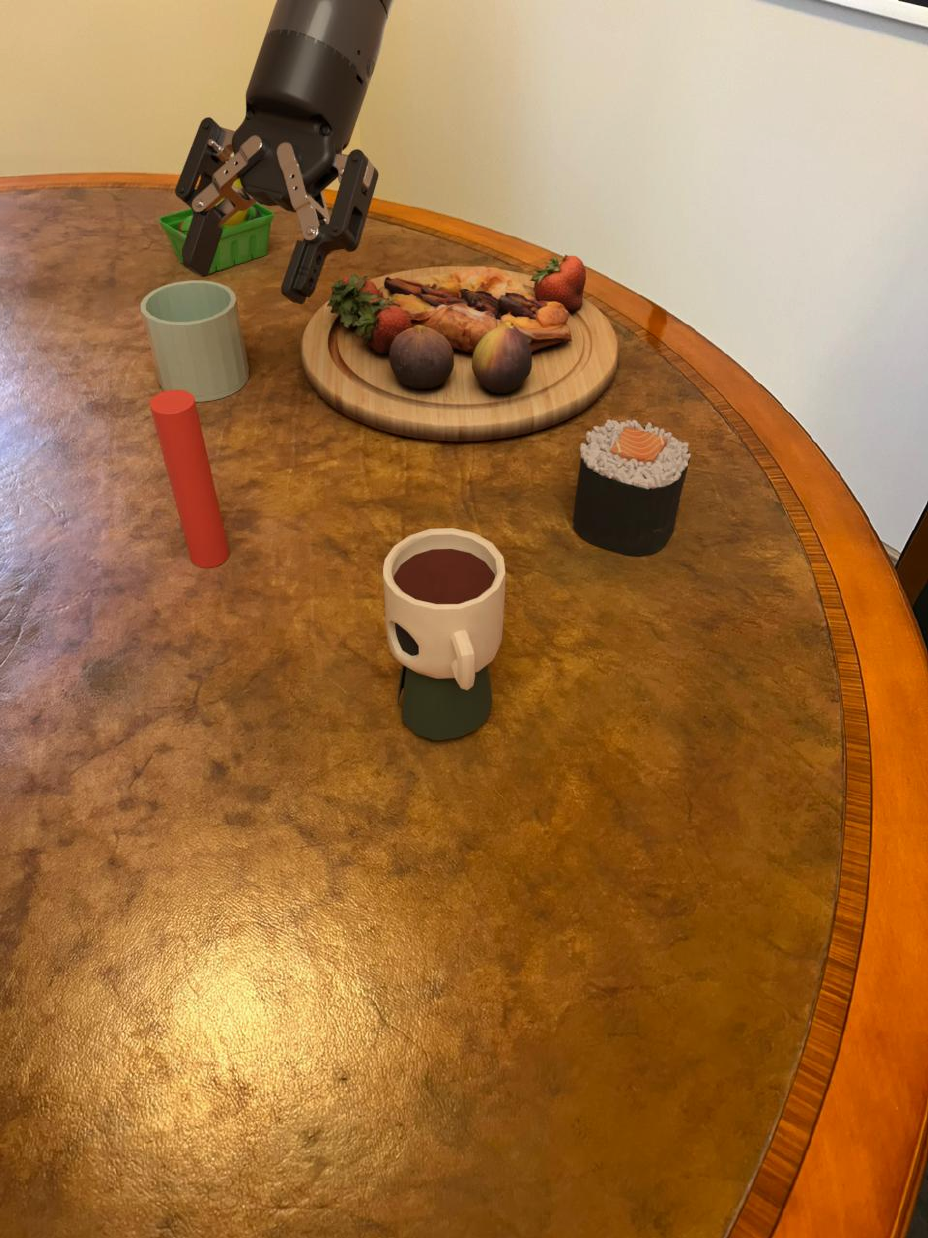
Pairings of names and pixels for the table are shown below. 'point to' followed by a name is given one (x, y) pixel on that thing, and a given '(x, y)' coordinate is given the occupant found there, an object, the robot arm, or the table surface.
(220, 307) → the tumbler
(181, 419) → the red cylindrical rod
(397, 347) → the wooden plate
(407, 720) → the character mug
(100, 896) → the table surface
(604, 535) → the sushi
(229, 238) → the fruit basket
